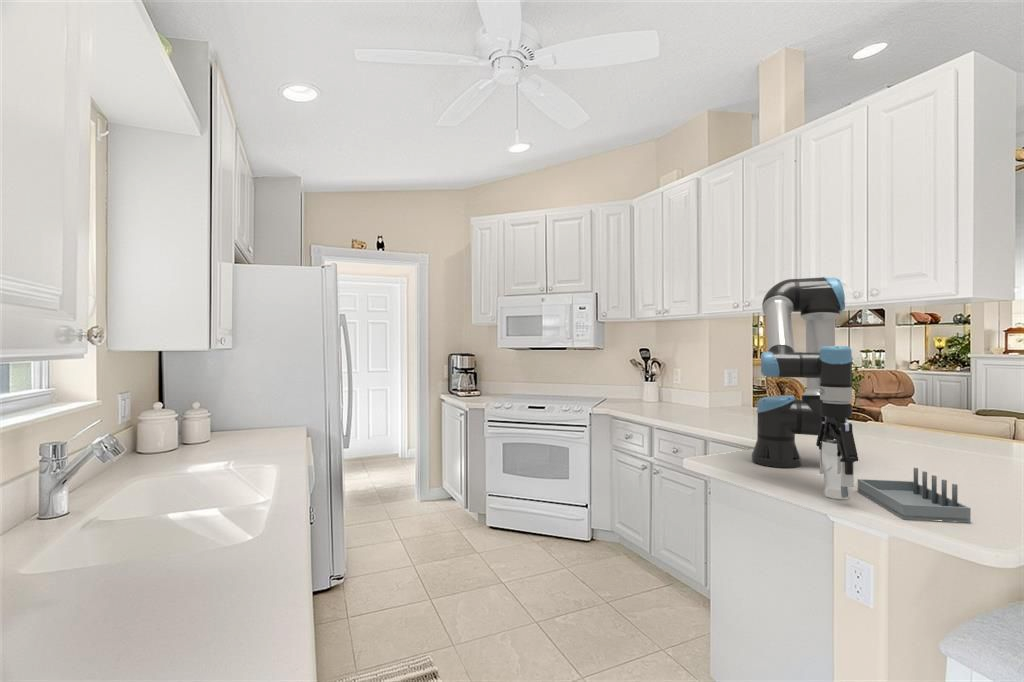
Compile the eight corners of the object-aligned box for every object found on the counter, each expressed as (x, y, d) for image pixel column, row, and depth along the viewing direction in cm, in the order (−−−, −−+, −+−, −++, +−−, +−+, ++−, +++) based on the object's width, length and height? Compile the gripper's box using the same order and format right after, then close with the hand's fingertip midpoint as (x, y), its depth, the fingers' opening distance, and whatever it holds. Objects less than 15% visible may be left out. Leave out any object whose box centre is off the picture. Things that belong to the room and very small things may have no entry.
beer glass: (855, 501, 137) (855, 444, 137) (826, 499, 139) (826, 443, 139) (844, 493, 144) (844, 439, 144) (817, 492, 146) (816, 438, 146)
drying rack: (857, 491, 146) (857, 463, 146) (913, 493, 143) (913, 465, 143) (903, 519, 123) (903, 486, 123) (970, 523, 121) (970, 488, 121)
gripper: (803, 397, 154) (804, 468, 154) (840, 407, 130) (841, 491, 130) (831, 397, 153) (831, 469, 153) (873, 408, 128) (874, 493, 128)
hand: (835, 479), depth 141 cm, fingers open, 13 cm apart
